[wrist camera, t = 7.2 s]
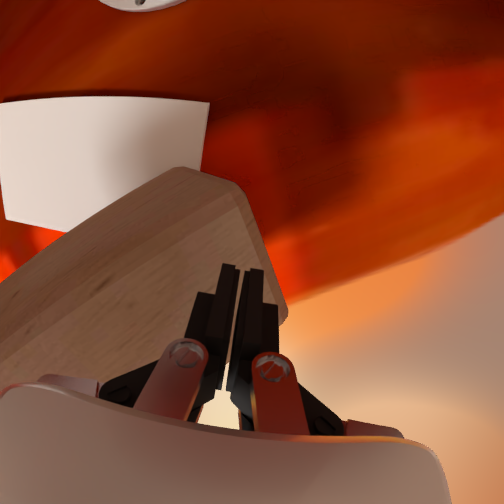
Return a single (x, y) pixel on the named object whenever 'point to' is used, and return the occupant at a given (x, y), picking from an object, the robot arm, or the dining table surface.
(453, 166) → the dining table surface
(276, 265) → the dining table surface
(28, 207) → the white mat
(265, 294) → the wooden block
